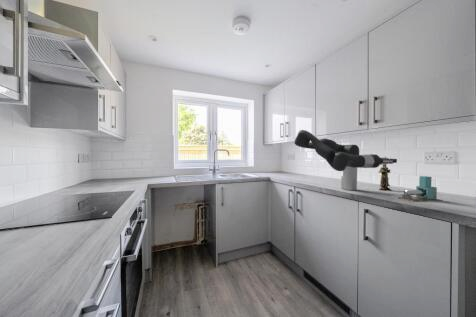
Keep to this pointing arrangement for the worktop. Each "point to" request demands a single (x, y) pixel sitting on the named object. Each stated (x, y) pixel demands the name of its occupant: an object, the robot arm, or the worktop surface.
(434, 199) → the board
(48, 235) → the worktop surface
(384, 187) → the figurine
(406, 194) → the pipe
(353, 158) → the robot arm
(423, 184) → the sleeve
